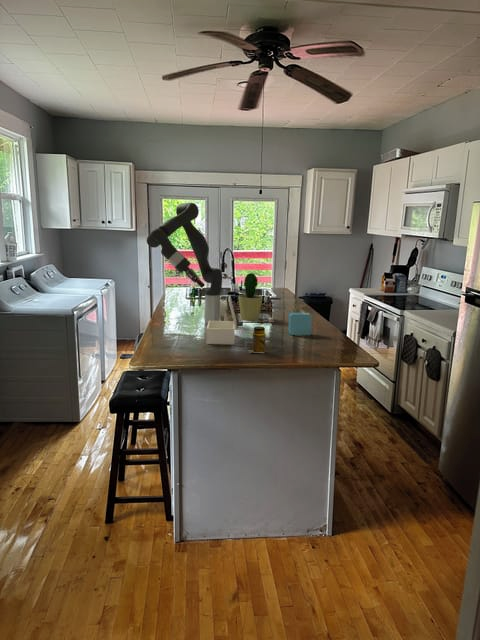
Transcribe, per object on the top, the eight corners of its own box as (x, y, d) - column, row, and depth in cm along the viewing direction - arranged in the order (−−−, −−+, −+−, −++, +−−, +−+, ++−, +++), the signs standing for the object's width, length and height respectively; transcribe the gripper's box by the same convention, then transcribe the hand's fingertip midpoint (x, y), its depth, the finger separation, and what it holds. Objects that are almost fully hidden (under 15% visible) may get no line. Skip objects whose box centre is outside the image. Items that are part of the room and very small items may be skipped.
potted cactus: (249, 322, 276) (250, 274, 269) (233, 318, 287) (233, 271, 280) (267, 319, 286) (268, 272, 279) (250, 315, 297) (251, 270, 290)
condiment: (267, 353, 212) (268, 329, 209) (250, 354, 210) (250, 329, 207) (263, 349, 219) (263, 325, 216) (246, 350, 217) (246, 326, 214)
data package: (309, 333, 252) (310, 312, 249) (311, 335, 247) (312, 314, 245) (288, 333, 251) (289, 312, 248) (289, 335, 246) (290, 314, 244)
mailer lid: (228, 301, 221) (229, 300, 221) (228, 295, 239) (230, 295, 239) (235, 328, 224) (236, 328, 224) (235, 320, 242) (236, 320, 242)
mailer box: (206, 343, 226) (206, 328, 224) (208, 335, 243) (208, 320, 242) (234, 344, 226) (234, 329, 224) (234, 335, 244) (234, 321, 242)
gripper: (183, 257, 219) (207, 283, 222) (185, 255, 232) (209, 279, 235) (172, 268, 220) (197, 293, 223) (175, 265, 233) (199, 289, 236)
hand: (203, 286), depth 229 cm, fingers closed
